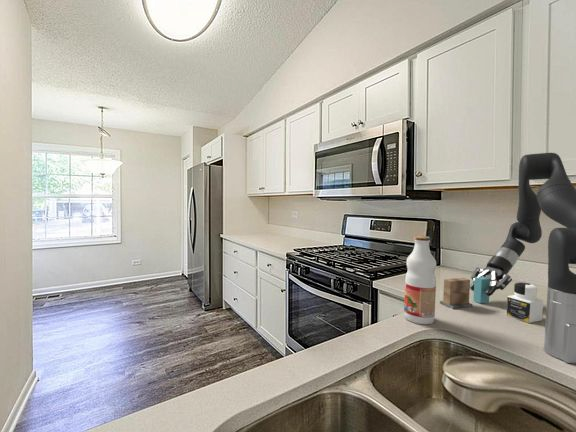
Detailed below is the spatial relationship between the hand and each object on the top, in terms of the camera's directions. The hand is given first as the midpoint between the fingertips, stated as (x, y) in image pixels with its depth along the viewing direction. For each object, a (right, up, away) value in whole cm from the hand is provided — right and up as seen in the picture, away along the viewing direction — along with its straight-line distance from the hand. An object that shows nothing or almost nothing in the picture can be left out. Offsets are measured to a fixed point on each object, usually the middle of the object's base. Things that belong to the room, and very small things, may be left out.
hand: (479, 291), depth 115 cm
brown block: (-11, -4, -3) cm, 12 cm away
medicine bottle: (+6, -5, -15) cm, 17 cm away
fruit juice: (-32, -5, -17) cm, 37 cm away
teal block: (+1, -4, +1) cm, 4 cm away
